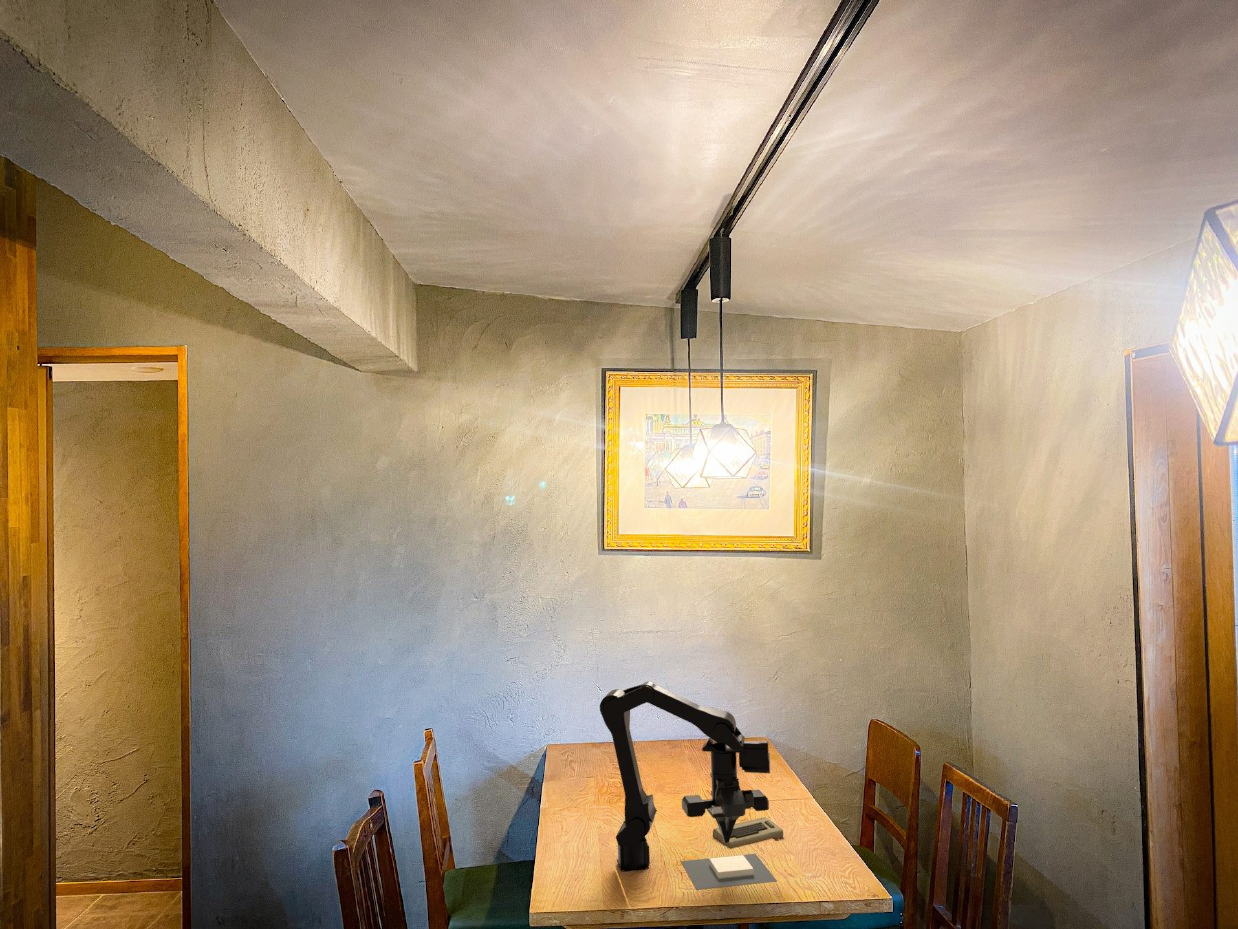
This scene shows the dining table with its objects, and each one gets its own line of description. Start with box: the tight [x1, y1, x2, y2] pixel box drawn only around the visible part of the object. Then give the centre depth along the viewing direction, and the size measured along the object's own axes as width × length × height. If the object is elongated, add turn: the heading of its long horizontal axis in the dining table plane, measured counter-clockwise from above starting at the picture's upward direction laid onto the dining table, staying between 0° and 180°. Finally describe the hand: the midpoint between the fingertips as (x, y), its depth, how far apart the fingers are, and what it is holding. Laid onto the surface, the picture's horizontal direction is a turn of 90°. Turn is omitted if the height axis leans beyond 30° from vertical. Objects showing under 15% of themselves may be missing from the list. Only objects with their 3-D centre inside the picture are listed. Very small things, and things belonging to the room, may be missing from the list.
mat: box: [680, 853, 778, 891], centre depth 174 cm, size 18×14×1 cm
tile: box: [709, 854, 754, 879], centre depth 174 cm, size 2×7×8 cm
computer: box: [712, 816, 784, 849], centre depth 193 cm, size 16×8×3 cm, turn 116°
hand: (726, 842), depth 174 cm, fingers closed
